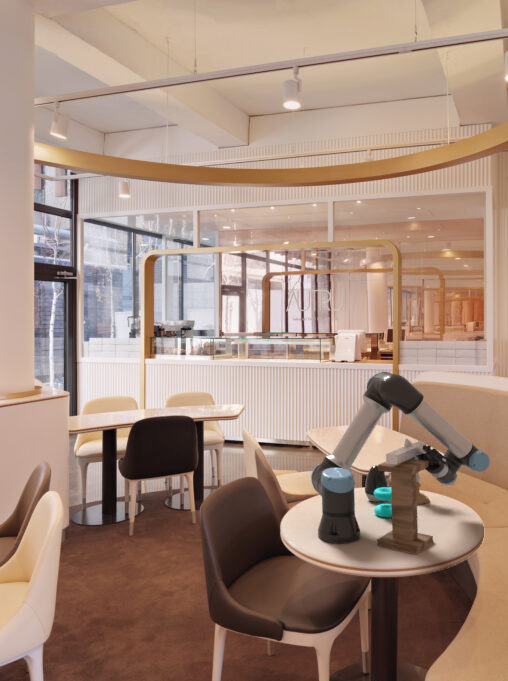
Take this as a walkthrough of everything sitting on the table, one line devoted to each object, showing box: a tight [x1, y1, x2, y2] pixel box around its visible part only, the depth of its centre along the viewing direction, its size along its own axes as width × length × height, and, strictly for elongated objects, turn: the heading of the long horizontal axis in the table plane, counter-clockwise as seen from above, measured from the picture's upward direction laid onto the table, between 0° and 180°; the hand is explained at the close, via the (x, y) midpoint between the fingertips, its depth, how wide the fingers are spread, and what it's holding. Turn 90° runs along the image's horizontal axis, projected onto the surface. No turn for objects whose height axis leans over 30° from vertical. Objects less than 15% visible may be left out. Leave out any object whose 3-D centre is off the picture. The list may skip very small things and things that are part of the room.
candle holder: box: [416, 459, 430, 505], centre depth 247 cm, size 12×12×20 cm
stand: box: [376, 459, 434, 555], centre depth 198 cm, size 14×14×28 cm
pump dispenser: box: [364, 464, 388, 503], centre depth 249 cm, size 10×10×15 cm
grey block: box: [385, 441, 427, 464], centre depth 200 cm, size 24×4×3 cm, turn 141°
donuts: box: [373, 487, 392, 519], centre depth 229 cm, size 10×10×10 cm
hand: (412, 443), depth 203 cm, fingers closed on grey block, 4 cm apart
